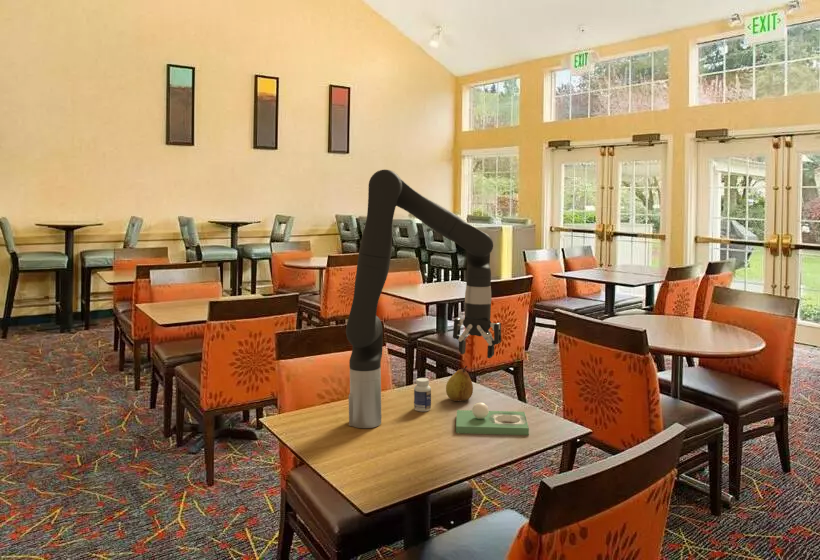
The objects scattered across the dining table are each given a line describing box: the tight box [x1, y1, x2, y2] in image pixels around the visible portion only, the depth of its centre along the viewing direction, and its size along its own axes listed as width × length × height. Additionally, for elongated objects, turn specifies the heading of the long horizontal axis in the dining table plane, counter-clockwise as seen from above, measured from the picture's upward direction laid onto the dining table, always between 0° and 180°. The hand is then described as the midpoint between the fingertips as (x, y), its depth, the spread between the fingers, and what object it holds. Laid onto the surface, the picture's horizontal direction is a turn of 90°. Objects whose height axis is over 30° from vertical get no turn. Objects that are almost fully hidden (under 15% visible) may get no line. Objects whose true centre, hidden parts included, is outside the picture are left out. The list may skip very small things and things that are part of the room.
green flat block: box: [455, 409, 530, 436], centre depth 186 cm, size 21×14×2 cm
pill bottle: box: [413, 377, 432, 413], centre depth 200 cm, size 5×5×10 cm
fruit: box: [445, 365, 474, 402], centre depth 210 cm, size 9×9×12 cm
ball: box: [471, 401, 490, 419], centre depth 186 cm, size 5×5×5 cm
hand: (476, 355), depth 184 cm, fingers open, 8 cm apart
